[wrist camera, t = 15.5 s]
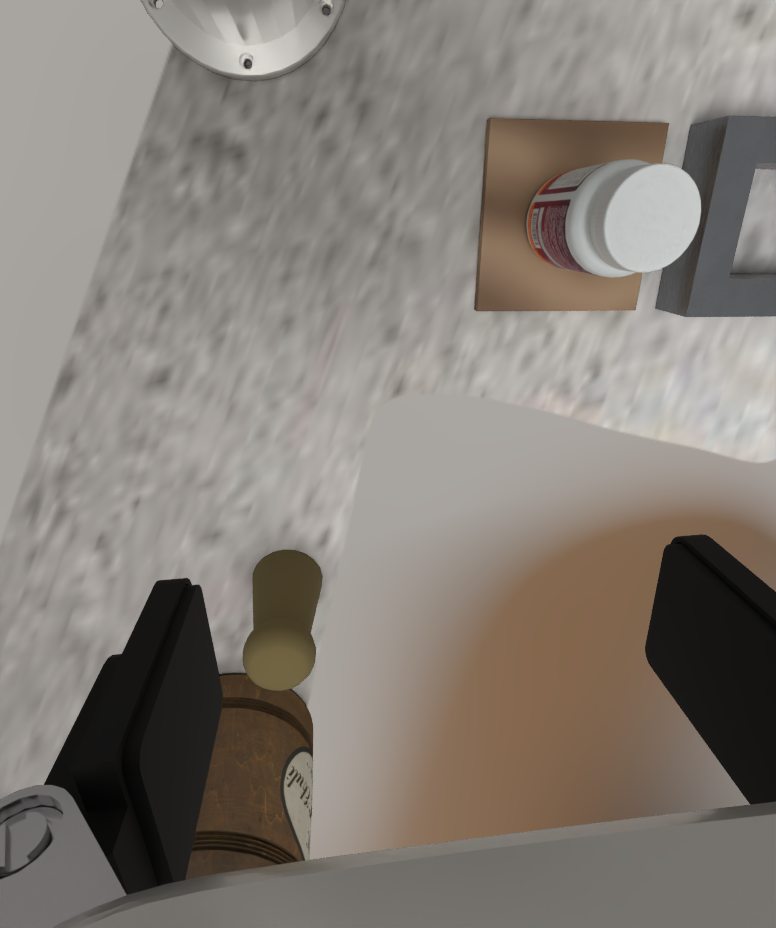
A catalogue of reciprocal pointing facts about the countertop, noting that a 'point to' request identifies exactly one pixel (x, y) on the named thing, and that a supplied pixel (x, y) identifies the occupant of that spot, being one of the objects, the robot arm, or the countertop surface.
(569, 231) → the pill bottle
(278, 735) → the wooden container
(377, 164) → the countertop surface
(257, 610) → the cork
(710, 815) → the robot arm
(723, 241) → the metal collar
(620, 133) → the brown pad
